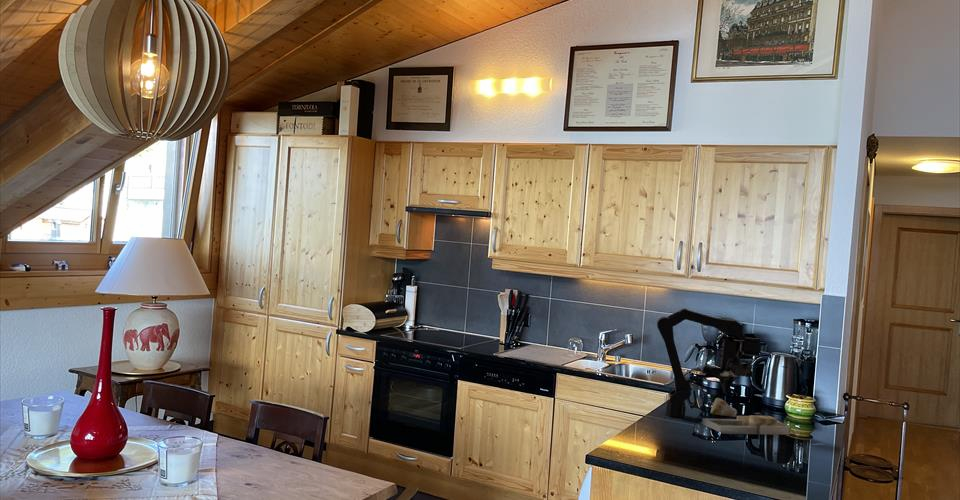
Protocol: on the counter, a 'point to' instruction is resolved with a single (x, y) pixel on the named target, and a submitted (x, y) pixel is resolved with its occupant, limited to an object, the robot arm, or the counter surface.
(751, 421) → the chip
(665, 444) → the counter surface
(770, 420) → the chip
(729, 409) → the cream ceramic pitcher
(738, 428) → the rail board
